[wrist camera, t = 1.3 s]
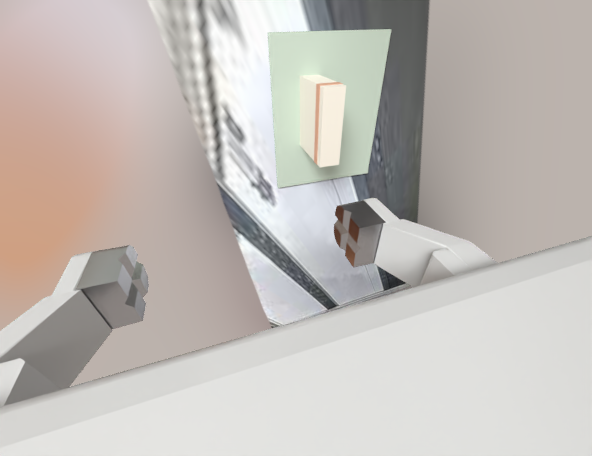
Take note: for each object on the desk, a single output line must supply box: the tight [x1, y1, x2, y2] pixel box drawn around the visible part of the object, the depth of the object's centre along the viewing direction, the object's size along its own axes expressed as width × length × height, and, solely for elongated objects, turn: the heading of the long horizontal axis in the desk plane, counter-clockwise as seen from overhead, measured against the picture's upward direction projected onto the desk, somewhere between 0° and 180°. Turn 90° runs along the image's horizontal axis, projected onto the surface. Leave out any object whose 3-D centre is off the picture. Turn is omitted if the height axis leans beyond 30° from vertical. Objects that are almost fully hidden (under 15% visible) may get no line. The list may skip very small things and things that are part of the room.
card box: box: [300, 75, 346, 168], centre depth 34 cm, size 9×3×8 cm, turn 1°
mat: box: [268, 29, 391, 188], centre depth 38 cm, size 20×16×1 cm
